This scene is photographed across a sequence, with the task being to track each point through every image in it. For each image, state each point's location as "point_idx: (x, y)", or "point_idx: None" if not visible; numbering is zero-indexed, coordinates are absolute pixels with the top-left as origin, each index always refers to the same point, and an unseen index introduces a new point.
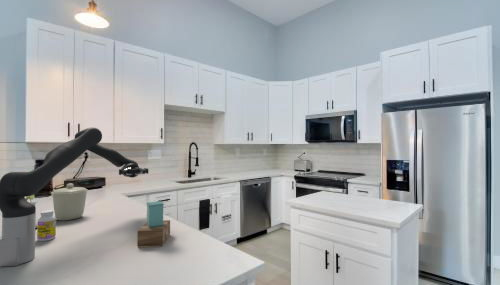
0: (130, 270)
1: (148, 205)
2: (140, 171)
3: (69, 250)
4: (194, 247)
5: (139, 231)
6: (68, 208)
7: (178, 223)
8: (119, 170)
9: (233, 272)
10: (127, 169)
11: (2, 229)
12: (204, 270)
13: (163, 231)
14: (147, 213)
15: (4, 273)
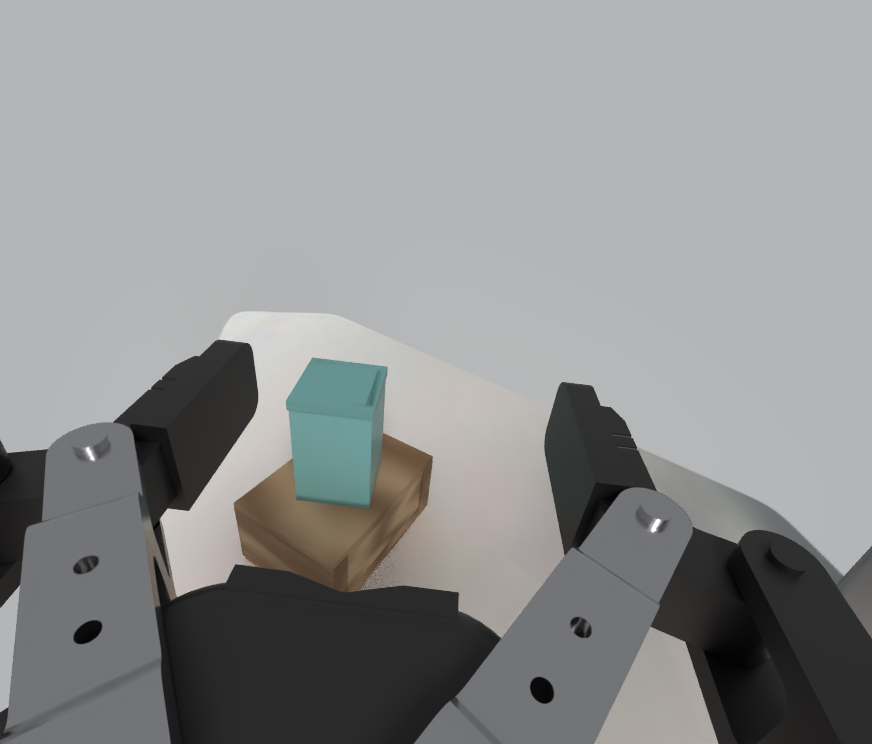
0: (470, 401)
1: (384, 378)
2: (161, 560)
3: None
4: (272, 411)
5: (425, 456)
6: None
7: None
8: (783, 548)
9: (304, 317)
10: (569, 562)
11: None
12: (339, 339)
13: None
14: (374, 445)
15: (821, 554)
